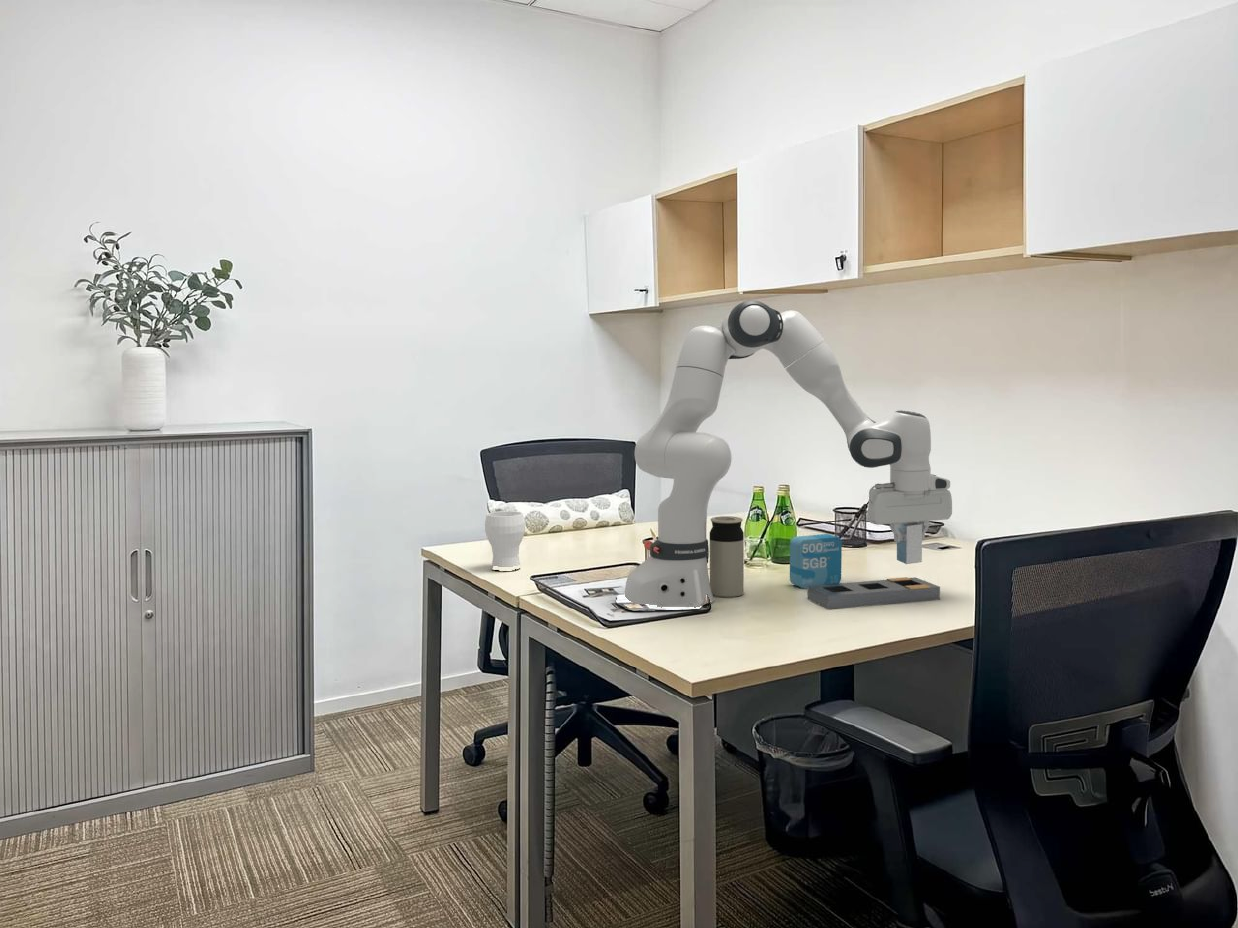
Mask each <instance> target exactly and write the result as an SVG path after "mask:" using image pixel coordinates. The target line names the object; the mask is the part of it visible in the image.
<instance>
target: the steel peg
mask: <svg viewBox="0 0 1238 928" xmlns="http://www.w3.org/2000/svg"><path fill="white" fill-rule="evenodd" d="M898 530H899V532H900V534H903V535H904V538H903V539H904V541H903V542H896V560H897V561H898V562H901V563H903V564H905V565H911V564H918V563H919V564H920V563H922V561H923V555H922V554H923V552H922V551H923V540H922V524H920V523H919V522H908V523H900V528H898Z"/></svg>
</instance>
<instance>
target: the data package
mask: <svg viewBox="0 0 1238 928" xmlns="http://www.w3.org/2000/svg"><path fill="white" fill-rule="evenodd" d="M842 547H843V545H842V539H841V538H840V537H838V536H836V535H833V534H829V533H823V534H821V533H820V534H813V535H812V534H810V535H799V536H798V535H797V536H794V537H792V538H791V539H790V542H789V581H790V583H791V585H793V586H796V587H799V588H801V589H808V586H812V585H825V584H838V583H841V581H842V555H843V554H842V549H843V548H842Z"/></svg>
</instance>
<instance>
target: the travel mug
mask: <svg viewBox="0 0 1238 928" xmlns="http://www.w3.org/2000/svg"><path fill="white" fill-rule="evenodd" d="M743 520H744V519H743V518H742V517H739V516H733V515H732V516H728V515H727V516H725V515H724V516H723V515H722V516H721V515H720V516H714V517H713V516H712V517H711V518H710V522H711V524H712V525H711V529H710V530H709V582H710V587H711V592H712V595H713V597H717V598H736V597H737V598H738V597H740V596H742V595H743V594H744V592H745V591H744V590H745V589H744V587H745V586H744V585H745V583H744V582H745V578H744V575H745V572H744V571H745V569H744V565H745V563H744V560H745V559H744V558H745V557H744V555H745V554H744V545H745V544H744V543H745V541H744V540H745V539H744V536H745V534H744V533H745V532H744V530H743V528H742V527H741V526H742V522H743Z"/></svg>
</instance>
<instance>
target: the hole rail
mask: <svg viewBox="0 0 1238 928" xmlns="http://www.w3.org/2000/svg"><path fill="white" fill-rule="evenodd" d="M940 596H941V586H939V585H936V584H935V583H931V582H929V581H926V580H925V579H924V580H923V579H921V578H918V577H916V576H914V577H893V578H886V579H880V580H878V579H876V580H866V581H853V582H840V583H838V584H825V585H812V586H808V588H807V600H809V601H811V602H814V603H815V604H817V605H819V606H821V607H823V608H824V609H827V610H835V609H845V608H857V607H870V606H879V605H880V606H881V605H882V606H883V605H892V604H895V605H896V604H904V603H916V602H927V601H937V600H938V601H939V600H941V597H940Z"/></svg>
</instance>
